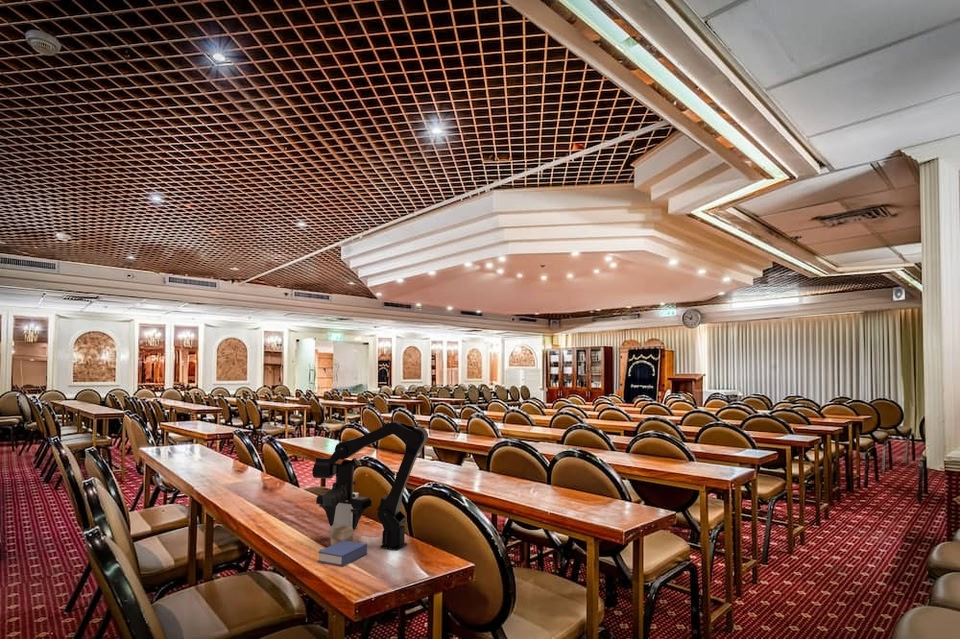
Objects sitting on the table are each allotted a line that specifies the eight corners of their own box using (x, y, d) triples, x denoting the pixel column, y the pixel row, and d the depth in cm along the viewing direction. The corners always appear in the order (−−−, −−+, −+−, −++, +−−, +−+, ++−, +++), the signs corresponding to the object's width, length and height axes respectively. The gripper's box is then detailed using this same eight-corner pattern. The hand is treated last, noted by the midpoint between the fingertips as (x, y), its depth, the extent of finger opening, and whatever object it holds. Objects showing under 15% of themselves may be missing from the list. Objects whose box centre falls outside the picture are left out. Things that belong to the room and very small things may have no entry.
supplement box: (348, 533, 181) (350, 496, 182) (329, 532, 182) (331, 495, 184) (357, 528, 188) (359, 492, 189) (339, 526, 189) (340, 491, 191)
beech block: (352, 542, 171) (353, 527, 172) (342, 547, 166) (343, 531, 167) (340, 540, 173) (340, 525, 174) (330, 545, 168) (331, 529, 169)
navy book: (366, 554, 160) (367, 544, 160) (342, 566, 149) (342, 555, 149) (343, 550, 163) (343, 540, 164) (317, 562, 152) (318, 551, 153)
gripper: (305, 480, 168) (303, 530, 167) (352, 485, 161) (350, 537, 159) (328, 475, 179) (326, 521, 177) (373, 479, 171) (371, 528, 170)
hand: (342, 527), depth 170 cm, fingers open, 9 cm apart
